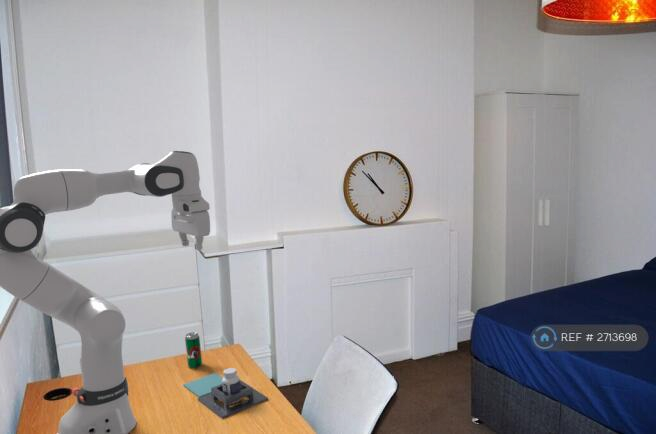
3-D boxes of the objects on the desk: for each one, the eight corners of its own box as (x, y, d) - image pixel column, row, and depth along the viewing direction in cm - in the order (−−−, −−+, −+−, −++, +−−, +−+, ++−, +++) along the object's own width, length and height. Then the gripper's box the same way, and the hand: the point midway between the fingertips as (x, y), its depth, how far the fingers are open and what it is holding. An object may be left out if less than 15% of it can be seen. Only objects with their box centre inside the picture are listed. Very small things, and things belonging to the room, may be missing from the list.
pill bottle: (243, 395, 171) (240, 366, 169) (239, 404, 166) (236, 374, 164) (226, 395, 171) (224, 366, 170) (221, 404, 166) (218, 374, 165)
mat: (199, 397, 171) (199, 396, 171) (183, 385, 180) (183, 384, 180) (232, 385, 179) (232, 383, 178) (215, 374, 188) (215, 372, 188)
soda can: (205, 363, 197) (201, 332, 195) (196, 369, 193) (193, 337, 191) (194, 362, 199) (190, 331, 197) (185, 367, 195) (181, 336, 193)
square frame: (222, 418, 157) (220, 406, 157) (197, 400, 170) (196, 388, 169) (268, 399, 167) (267, 387, 167) (242, 383, 180) (241, 371, 179)
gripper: (164, 203, 172) (168, 245, 174) (192, 207, 156) (197, 253, 158) (182, 200, 175) (187, 242, 178) (212, 204, 160) (216, 249, 162)
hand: (192, 247), depth 168 cm, fingers open, 8 cm apart
